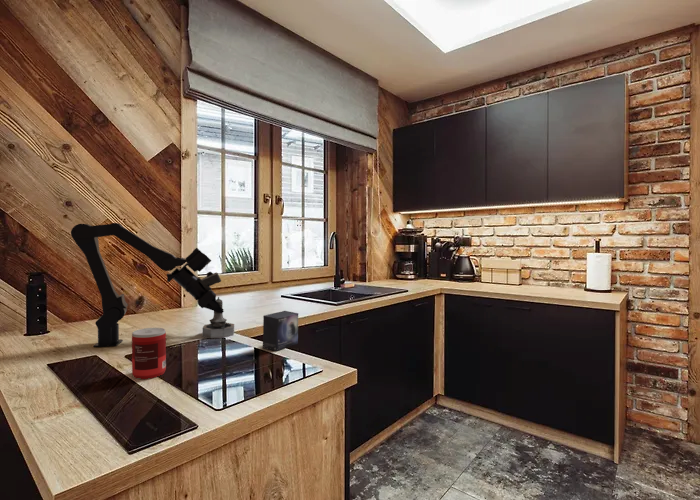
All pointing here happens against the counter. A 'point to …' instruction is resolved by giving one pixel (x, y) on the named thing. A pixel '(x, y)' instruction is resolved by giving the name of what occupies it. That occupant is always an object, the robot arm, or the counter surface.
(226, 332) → the grey polygonal dish
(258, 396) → the counter surface
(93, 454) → the counter surface
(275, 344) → the small box
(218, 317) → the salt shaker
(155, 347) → the canned food
